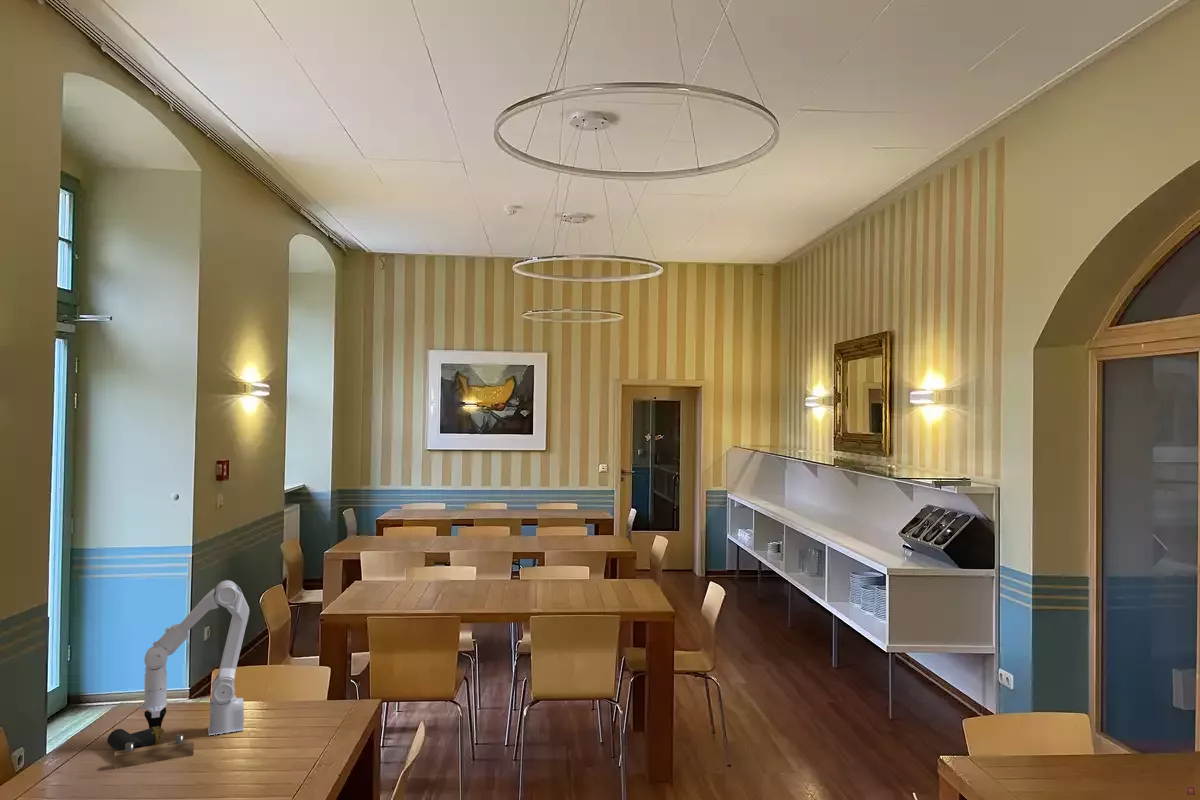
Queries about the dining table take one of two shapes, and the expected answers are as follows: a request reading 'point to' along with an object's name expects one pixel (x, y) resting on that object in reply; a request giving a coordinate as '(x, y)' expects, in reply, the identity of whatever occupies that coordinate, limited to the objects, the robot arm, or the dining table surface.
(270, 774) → the dining table surface
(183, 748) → the bar
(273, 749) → the dining table surface
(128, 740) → the pipe connector
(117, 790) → the dining table surface
